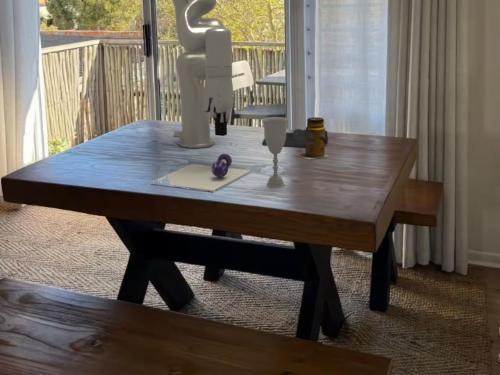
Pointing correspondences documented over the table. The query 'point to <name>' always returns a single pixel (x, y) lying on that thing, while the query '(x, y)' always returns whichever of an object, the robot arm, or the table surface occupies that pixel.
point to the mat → (203, 177)
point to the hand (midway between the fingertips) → (221, 134)
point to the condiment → (314, 139)
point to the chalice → (275, 144)
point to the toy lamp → (221, 165)
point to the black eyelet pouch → (297, 139)
